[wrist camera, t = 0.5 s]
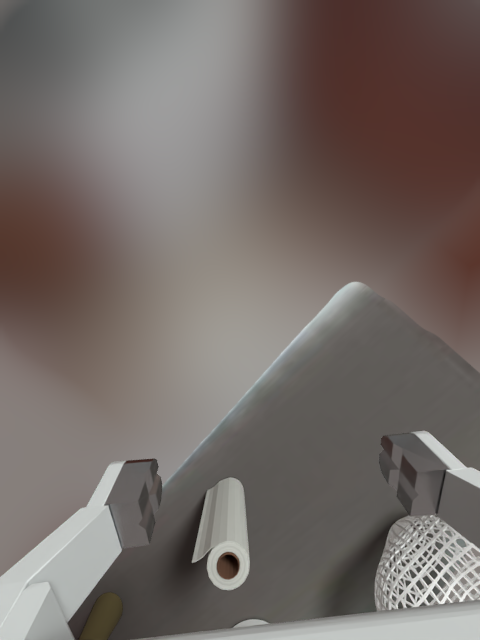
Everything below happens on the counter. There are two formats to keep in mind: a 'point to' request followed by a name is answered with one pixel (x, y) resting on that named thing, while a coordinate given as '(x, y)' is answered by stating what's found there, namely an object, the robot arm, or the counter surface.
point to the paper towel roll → (224, 535)
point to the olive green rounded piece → (103, 617)
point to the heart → (393, 537)
